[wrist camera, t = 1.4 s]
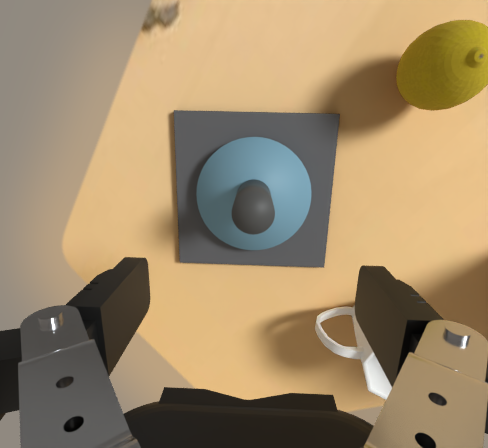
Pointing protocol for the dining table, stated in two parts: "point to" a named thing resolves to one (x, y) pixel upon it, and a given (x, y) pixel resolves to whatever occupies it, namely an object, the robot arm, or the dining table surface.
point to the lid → (253, 193)
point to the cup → (356, 351)
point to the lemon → (445, 65)
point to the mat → (267, 126)
